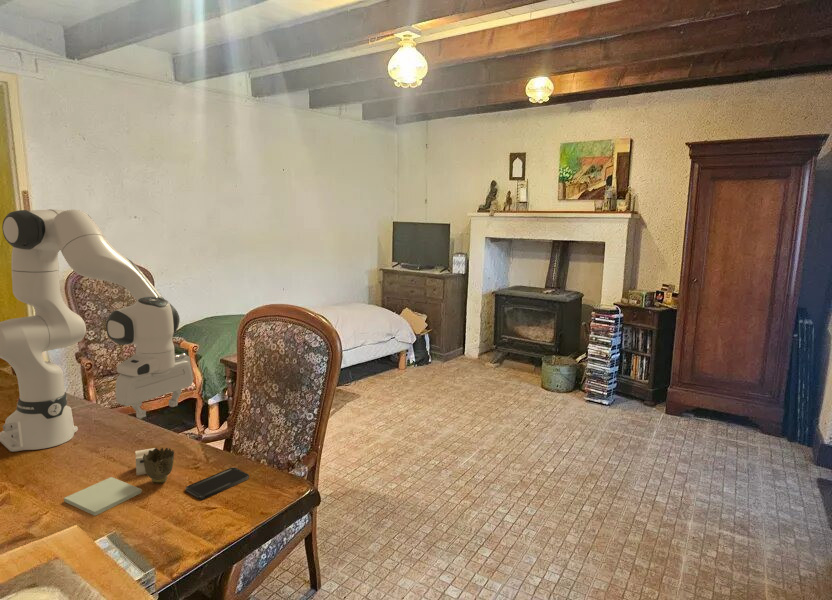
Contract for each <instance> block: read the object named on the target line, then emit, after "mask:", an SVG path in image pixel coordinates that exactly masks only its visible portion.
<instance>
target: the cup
mask: <svg viewBox="0 0 832 600" xmlns="http://www.w3.org/2000/svg"><path fill="white" fill-rule="evenodd" d="M154 448H155V449H154V450H153V451H151V450H149V452H148V455H146V454H144V456H143V460H144V466H145V471H146V474H145V475H147V477H148V478H150V479H151V482H152V483H153V484H156V485H160V484H163V483H165V482H166V481H167V480H168V476H170V474H171V472H172V470H173V467H174V459H175V458H174V457H175V451H174V450H173V449H172V450H171V448H168V447H166V448H165V449H164V448H163V447H161V448H160V449H159V448H157V447H154Z"/></svg>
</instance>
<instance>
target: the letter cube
mask: <svg viewBox="0 0 832 600" xmlns="http://www.w3.org/2000/svg"><path fill="white" fill-rule="evenodd" d="M155 448H156V447H152V448H147V449H140V450H135V454H134V455H135V471H136V474H135V475H136V476H141V475H147V474H146V471H145V466H144V460H143V456H144V454H146V455H148V452H149V450H151V451H153V450H154V449H155Z"/></svg>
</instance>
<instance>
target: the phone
mask: <svg viewBox="0 0 832 600" xmlns="http://www.w3.org/2000/svg"><path fill="white" fill-rule="evenodd" d="M249 479H250V474H248V473H247V472H245V471H243V470H241V469H238V468H237V467H229V468H227V469H223V471H220V472H218V473H215V474H212V475H211V476H208V477H206V478H203V479H201V480H198V481H196V482H193V483H192V484H189V485H186V487H185V492H186V493H188V494H189V495H191V496H192V497H194V498H195V499H198V501H199V500H201V501H203V500H206V499H208V498H210V497H212V496H215V495H217V494H219V493H221V492H224V491H225V490H227V489H231V488H232V487H234V486H236V485H238V484H241V483H243V482H245V481H247V480H249Z"/></svg>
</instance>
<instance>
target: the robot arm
mask: <svg viewBox="0 0 832 600" xmlns="http://www.w3.org/2000/svg"><path fill="white" fill-rule="evenodd" d="M1 227H2V233H3V236H4V240H5V241H6V242H7V243H8V244H9V245H10V246H11V247H12V251H11V281H12V283H11V284H12V294H13V296H14V297H15V299H17V300H18V301H19V302H21V303H24V304H26V305H29V306H32V307H33V310H34V312H35V313H34V315H32V316H23V317H18V318H17V317H15V318H9V319H6V320H3V321H0V359H2V360H3V361H5V362H7V364H9V366H11V367H12V369H13V371H14V372H15V373H14V374H16V378H17V379H16V380H17V384H18V385H17V386H18V392H19V397H16V402H17V403H16V409H15V411H13V412H12V413H11V414H10V415H9V416H7V417H6V418H5V423H4V424H3V425H2V431H0V443H1V444H2V445H3V446H4V447H5V448H6V449H7V450H8V451H9V452H19V451H21V452H22V451H31V450H32V451H33V450H35V451H36V450H41V449H42V450H43V449H48V448H52V447H56V446H59V445H62V444H65V443H67V442H68V441H70V440H71V439H73V438H74V436H75V433H76V432H77V431H78V430H79V428H78V426H77V425H74V418H73V411H72V408H71V406H69V405H68V396H67V392H66V391H65V375H64V370H63V369H62V368H61V366H59V365H58V364H56V363H53V362H50V361H46V360H45V359H44V356H43V353H45V352H48V351H54V350H57V349H63V348H67V347H70V346H72V345H75V344H77V343H80V342H82V341H83V339H84V338H85V336H86V333H87V325H86V322H85V320H84V319H83V318H82V316H81V315H79V314H78V313H76V312H74V311H72V310H71V309H70V308H69V307H68V305H67V304H66V303H65V300H64V299H63V296H62V292H61V285H60V273H59V272H60V270H59V269H60V267H59V257H58V256H59V255H58V254H59V252H61V254H62V256H63V257H64V260H65V261H66V263H67V264H68V266H69V267H70V268H71V269H72V270H73V272H75V273H76V274H78V275H80V276H82V277H85V278H87V279H91V280H99V281H105V282H109V283H113V284H117V285H120V286H121V287H123V288H125V289H126V290H127V291H128V292H129V293H130V295H131V296H132V297H133V299H134V300H136V301H135V302H134V303H133V304H131V305H129V306H125V307H122V308H119V309H116V310H113V311H112V312H110V313H109V315H108V317H107V319H106V324H105V326H106V327H105V331H106V333H107V336H108V338H109V339H110V340H111V341H112V342H114V343H115V344H117V345H119V346H128V345H135V348H136V349H135V354H133V355H132V356H131V357H129V358H128V359H125V360H124V361H121V363H119V364H117V366H116V372H117V373H119V375H118V376H117V377H116V380H115V400H116V401H115V402H117V404H119V405H120V406H124V407H129V406H131V407H132V409H133V410H134V411H135V414H136V415H135V416H136V418H137V419H139V420H141V419H144V418H146V417H147V410H146V409H142V408H141V406H143V402H145V401H149V400H151V399H155V398H158V397H161V396H164V395H167V394H170V393H172V396H171V397H170V399H168V406H169V407H171V408H174V407H178V404H179V402H178V401H179V398H180V397H181V394H182V390H183V389H186V388H189V387H190V386H191V385H192V384H193V383H194V377H193V370H192V366H191V365H192V364H191V357H190V356H189V355H188V354H186V353H180V354H175V345H174V342H173V336H174V335H175V333H176V332H177V330H178V328H179V325H180V322H181V321H180V319H181V318H180V314H179V313H178V311H177V309H176V308H175V307H174V306H173V305H172V304H171V303H170V301H169V300H166V299H165V298H164V297H163V296H162V295H161V293H160V292H159V291H158V290H157V289H156V286H154V285H153V284H152V283H151V281H150V280H149V279H148V277H147V276H146V275H145V274H144V273H143V272H142V271H141V269H140V268H139V267H138V265H136V264H135V262H133V261H132V260H130V259H128V258H127V257H125V256H124V255H123V254H121V253H120V252H119V251H118V250H117V249H116V248H115V247H113V246H112V245H111V243H110V242H109V241H108V239H107V238H106V236H105V234H104V232H103V231H102V230H101V229H100V227H99V226H98V225H97V223H96V222H95V221H94V220H93V218H92V217H91V216H90V215H89V214H87V213H85V212H84V211H83V210H80V209H66V210H63V209H51V208H50V209H36V210H35V209H33V210H27V209H21V210H20V209H19V210H14V211H11V212H8V214H6V216H5V217H4V219H3V221H2V226H1Z"/></svg>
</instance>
